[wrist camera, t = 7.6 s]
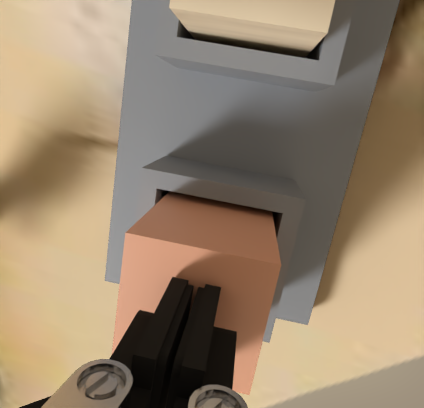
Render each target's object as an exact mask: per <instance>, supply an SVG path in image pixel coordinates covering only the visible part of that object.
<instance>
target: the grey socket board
mask: <svg viewBox="0 0 424 408" xmlns="http://www.w3.org/2000/svg"><path fill="white" fill-rule="evenodd" d="M399 1H400V0H335V4H334V8H333V12H332V17H331V21H330V25H329V29H328V33H327V34H326V35H325V36H324V37H323V39H322V40H321V41H320V42H319V43H318V44H317V45H316V46H315V47H314V48H313V49H312V51H311V52H310V53H309V54H308V55H307V56H306V57H305V58H301V57H295V56H289V55H283V54H277V53H271V52H265V51H258V50H252V49H246V48H240V47H234V46H228V45H222V44H216V43H210V42H204V41H198V40H195V39H194V38H193V36H192V35H191V34H190V33H189V31H188V30H187V29H186V28H185V27H184V25H183V24H182V23H181V22H180V20H179V19H178V18H177V17H176V16H175V14H174V13H173V12H172V11H171V9H170V8H169V5H170V0H132V6H131V16H130V26H129V37H128V47H127V57H126V68H125V78H124V88H123V99H122V109H121V119H120V129H119V140H118V150H117V160H116V171H115V181H114V191H113V202H112V212H111V222H110V232H109V243H108V253H107V263H106V274H105V281H108V282H113V283H117V284H120V276H121V267H122V258H123V249H124V240H125V232H127V231H128V230H129V229H130V228H131V227H132V226H133V225H134V224H135V223H136V222H137V221H138V220H139V219H140V218H142V217H143V216H144V215H145V214H146V213H147V212H148V211H149V210H150V209H151V208H152V207H153V206H154V205H156V204H157V203H158V202H159V201H160V200H161V199H162V198H163V197H164V196H165V195H166V194H167V193H168V192H170V191H172V192H177V193H182V194H188V195H193V196H198V197H203V198H208V199H213V200H218V201H223V202H228V203H233V204H238V205H243V206H249V207H254V208H259V209H264V210H269V211H272V215H273V220H274V226H275V232H276V237H277V243H278V249H279V255H280V260H281V268H280V272H279V276H278V280H277V284H276V289H275V293H274V297H273V301H272V305H271V309H270V313H269V317H268V321H267V325H266V329H265V333H264V337H263V341H264V342H270V338H271V334H272V330H273V327H274V323H275V319H276V318H278V319H283V320H287V321H292V322H296V323H301V324H305V325H308V322H309V319H310V315H311V312H312V308H313V305H314V301H315V298H316V294H317V291H318V287H319V284H320V280H321V277H322V273H323V269H324V266H325V262H326V259H327V255H328V252H329V248H330V245H331V241H332V238H333V234H334V231H335V227H336V224H337V220H338V217H339V213H340V209H341V206H342V202H343V199H344V195H345V192H346V188H347V185H348V181H349V178H350V174H351V171H352V167H353V164H354V160H355V157H356V153H357V150H358V146H359V142H360V139H361V135H362V132H363V128H364V125H365V121H366V118H367V114H368V111H369V107H370V104H371V100H372V97H373V93H374V90H375V86H376V83H377V79H378V75H379V72H380V68H381V65H382V61H383V58H384V54H385V51H386V47H387V44H388V40H389V37H390V33H391V30H392V26H393V23H394V19H395V15H396V12H397V8H398V5H399Z"/></svg>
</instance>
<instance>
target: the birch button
mask: <svg viewBox="0 0 424 408" xmlns="http://www.w3.org/2000/svg"><path fill="white" fill-rule="evenodd" d="M334 4H335V0H170V5H169V8H170V9H171V11H172V12H173V13H174V14H175V16H176V17H177V18H178V19H179V20H180V22H181V23H182V24H183V25H184V27H185V28H186V29H187V30H188V31H189V33H190V34H191V35H192V36H193V38H194V39H195V40H198V41H204V42H210V43H216V44H222V45H228V46H234V47H240V48H246V49H252V50H258V51H265V52H271V53H277V54H283V55H289V56H295V57H301V58H305V57H306V56H307V55H308V54H309V53H310V52H311V51H312V49H313V48H314V47H315V46H316V45H317V44H318V43H319V42H320V41H321V40H322V39H323V37H324V36H325V35H326V34H327V33H328V29H329V25H330V21H331V17H332V12H333V8H334Z"/></svg>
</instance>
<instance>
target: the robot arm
mask: <svg viewBox="0 0 424 408" xmlns="http://www.w3.org/2000/svg"><path fill="white" fill-rule="evenodd" d="M193 288H194V286H193V285H188V280H185V279H181V278H176V277H172V279H171V281H170V283H169V284H168V286H167V288H166V290H165V292H164V294H163V296H162V298H161V300H160V302H159V304H158V306H157V308H156V310H155V312H154V313H152V312H147V311H143V310H139V311H138V312H137V314H136V315H135V317H134V319H133V320H132V322H131V324H130V325H129V327H128V329H127V330H126V332H125V334H124V335H123V337H122V339H121V341H120V342H119V344H118V346H117V347H116V349H115V351H114V352H113V354H112V356H111V357H110V359H99V360H94V361H90V362H88V363H86V364H84V365H82V366H81V367H80V368H78V369H77V370H76V371H75V372H74V373H73V374H72V375H71V376H70V377H69V378H68V379H67V380H66V382H65V383H64V384H63V385H62V386H61V387H60V388H59V389H58V390H57V391H56V392H55V393H54V394H53V395H52V396H50V397H47V398H45V399H42V400H39V401H36V402H33V403H31V404H28V405H25V406H22V407H20V408H248V407H247V404H246V403H245V401H244V400H243V398H242V397H241V396H240V395H239V394H238V393H236V392H235V391H234V390H232V388H233V376H234V364H235V352H236V339H237V331H232V330H228V329H223V328H219V327H214V322H215V317H216V312H217V307H218V301H219V296H220V291H221V287H218V286H213V285H209V284H205V287H204V288H202V287H198V290H197V293H196V296H195V299H194V302H193V305H192V308H191V311H190V305H191V299H192V294H193ZM189 311H190V314H189Z"/></svg>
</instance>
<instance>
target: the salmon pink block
mask: <svg viewBox="0 0 424 408" xmlns="http://www.w3.org/2000/svg"><path fill="white" fill-rule="evenodd" d="M280 268H281V260H280V255H279V249H278V243H277V237H276V232H275V226H274V220H273V215H272V211H269V210H264V209H259V208H254V207H249V206H243V205H238V204H233V203H228V202H223V201H218V200H213V199H208V198H203V197H198V196H193V195H188V194H182V193H177V192H172V191H170V192H168V193H167V194H166V195H165V196H164V197H163V198H162V199H161V200H160V201H159V202H158V203H157V204H156V205H154V206H153V207H152V208H151V209H150V210H149V211H148V212H147V213H146V214H145V215H144V216H143V217H142V218H140V219H139V220H138V221H137V222H136V223H135V224H134V225H133V226H132V227H131V228H130V229H129V230H128V231H127V232H125V240H124V249H123V258H122V267H121V276H120V285H119V294H118V303H117V312H116V321H115V331H114V340H113V349H112V354H113V352H114V351H115V349H116V347H117V346H118V344H119V342H120V341H121V339H122V337H123V335H124V334H125V332H126V330H127V329H128V327H129V325H130V324H131V322H132V320H133V319H134V317H135V315H136V314H137V312H138V311H139V310H143V311H147V312H152V313H154V312H155V310H156V308H157V306H158V304H159V302H160V300H161V298H162V296H163V294H164V292H165V290H166V288H167V286H168V284H169V283H170V281H171V279H172V277H176V278H181V279H185V280H188V285H193V286H194V288H193V294H192V299H191V305H190V311H191V308H192V305H193V302H194V299H195V296H196V293H197V290H198V287H202V288H204V287H205V284H209V285H213V286H218V287H221V291H220V296H219V301H218V307H217V312H216V317H215V322H214V327H219V328H223V329H228V330H232V331H237V339H236V352H235V364H234V376H233V388H232V390H234V391H235V392H239V393H243V394H247V395H249V394H250V390H251V386H252V382H253V378H254V374H255V370H256V366H257V362H258V358H259V353H260V349H261V345H262V341H263V337H264V333H265V329H266V325H267V321H268V317H269V313H270V309H271V305H272V301H273V297H274V293H275V289H276V284H277V280H278V276H279V272H280ZM190 311H189V314H190Z"/></svg>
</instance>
